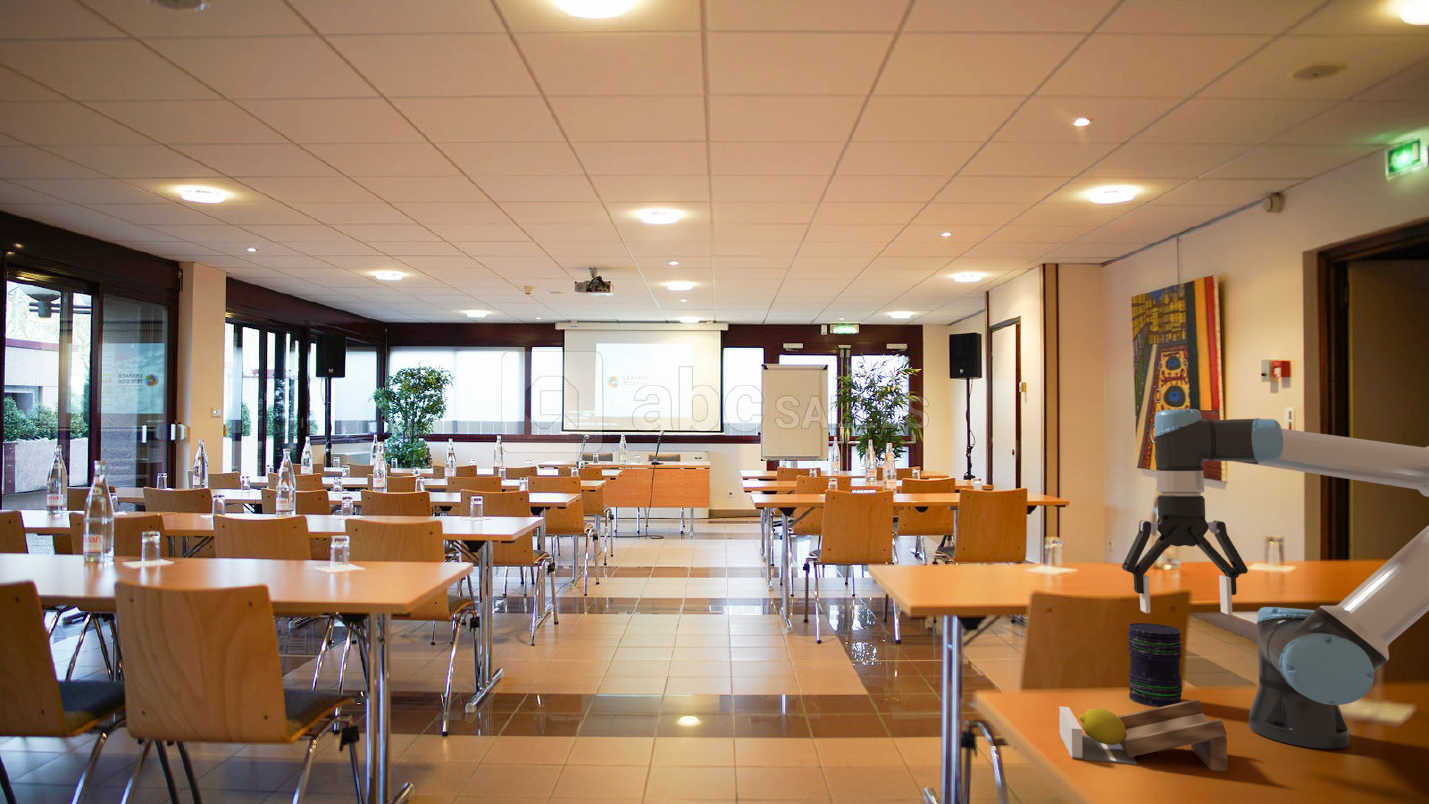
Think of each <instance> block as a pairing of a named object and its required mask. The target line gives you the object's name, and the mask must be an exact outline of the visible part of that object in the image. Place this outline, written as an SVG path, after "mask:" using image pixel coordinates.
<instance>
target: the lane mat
mask: <svg viewBox="0 0 1429 804" xmlns="http://www.w3.org/2000/svg"><path fill="white" fill-rule="evenodd" d="M1060 737H1062V736H1060ZM1106 745H1107V744H1106ZM1107 747H1108V748H1109V750H1110V751H1111V753H1112V754H1113V756H1114V757H1115V759H1116V761H1111V759H1110V757H1109V756H1108V754H1107V753H1106V751H1105V750H1104V748H1103V746H1102V745H1101V743H1100V742H1097V741H1095V740H1093V739H1092V738H1090V737H1089V736H1088V735H1087V734H1082V758H1081V759H1082V761H1083V760H1084V761H1091V762H1092V761H1093V762H1094V761H1095V762H1104V763H1112V762H1113V763H1115V762H1116V763H1115V764H1124V765H1135V766H1138V763H1137V761H1136V759H1135V758H1134V756H1132V757H1129V756H1128V755H1127V754H1126V752H1125V751H1124V749H1123V748H1122V746H1121V745H1120V743H1119V744H1116V745H1107ZM1076 758H1077V759H1076ZM1076 758H1075V757H1074V758H1072V757H1071V759H1073V760H1081V759H1079V758H1078V757H1076Z"/></svg>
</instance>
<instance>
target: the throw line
mask: <svg viewBox="0 0 1429 804" xmlns="http://www.w3.org/2000/svg"><path fill="white" fill-rule="evenodd" d="M1101 745H1102V746H1103V748H1104V750H1105V751H1106V753H1107V754H1108V756H1109V757H1110V759H1111V761H1116V759H1115V757H1114V756H1113V754H1112V753H1111V751H1110V750H1109V748H1108V747H1107V745H1106V744H1103V743H1101ZM1111 763H1113V762H1111ZM1115 764H1117V763H1116V762H1115Z"/></svg>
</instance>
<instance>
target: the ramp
mask: <svg viewBox="0 0 1429 804" xmlns="http://www.w3.org/2000/svg"><path fill="white" fill-rule="evenodd" d="M1117 717H1119V718H1120V719H1121V720H1122V722H1123V723H1124V725H1125V728H1126V733H1127V737H1126V738H1124V740H1123V741H1122V742H1120V745H1121V746H1122V748H1123V749H1124V751H1125V752H1126V754H1127V755H1128V756H1129V757H1135V756H1141V755H1146V754H1149V753H1154V752H1161V751H1165V750H1170V749H1174V748H1178V747H1179V748H1180V747H1185V746H1188V745H1190V749H1191V750H1192V751H1193V752H1194V753H1195V754H1196V756H1197V757H1199V758H1200V760H1201V761H1202V762H1203V763H1204V764H1205V765H1206V766H1207V768H1208V769H1209V770H1211V771H1219V772H1228V738H1227V737H1226V736H1228V734H1227V731H1226V728H1225V725H1224V723H1223V720H1222V719H1221V718H1217V719H1212V720H1210V719H1209V718H1208V717H1207V716H1206V715H1205V713H1204V710H1203V707H1202V705H1201V702H1200V699H1198V698H1196V699H1191V700H1187V701H1182V702H1181V703H1177V704H1172V705H1168V706H1163V707H1153V708H1150V709H1145V710H1141V711H1135V712H1132V713H1128V714H1123V715H1117Z"/></svg>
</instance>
